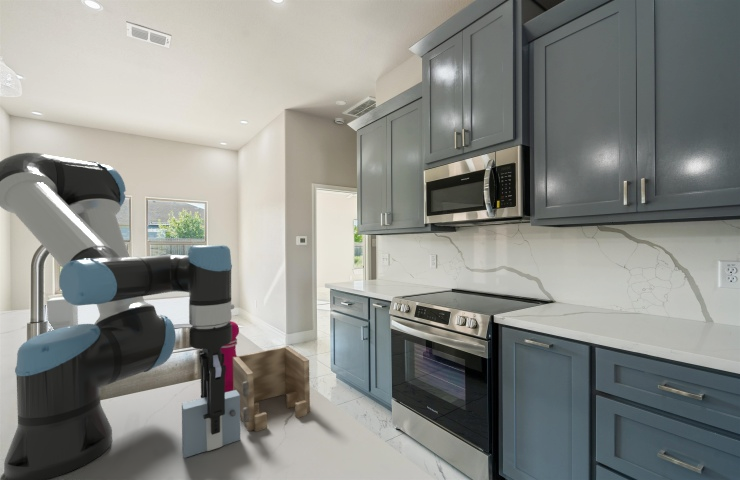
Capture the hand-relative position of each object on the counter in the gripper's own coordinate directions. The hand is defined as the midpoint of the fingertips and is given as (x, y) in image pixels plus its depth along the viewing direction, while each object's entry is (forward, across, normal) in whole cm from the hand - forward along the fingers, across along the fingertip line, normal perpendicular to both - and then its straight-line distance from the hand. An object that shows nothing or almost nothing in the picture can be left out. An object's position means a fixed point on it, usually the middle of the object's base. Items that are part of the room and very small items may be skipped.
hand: (212, 442), depth 68 cm
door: (0, 0, 0) cm, 0 cm away
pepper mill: (+1, +24, -8) cm, 26 cm away
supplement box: (+2, +135, +39) cm, 141 cm away
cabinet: (0, +7, -14) cm, 16 cm away
